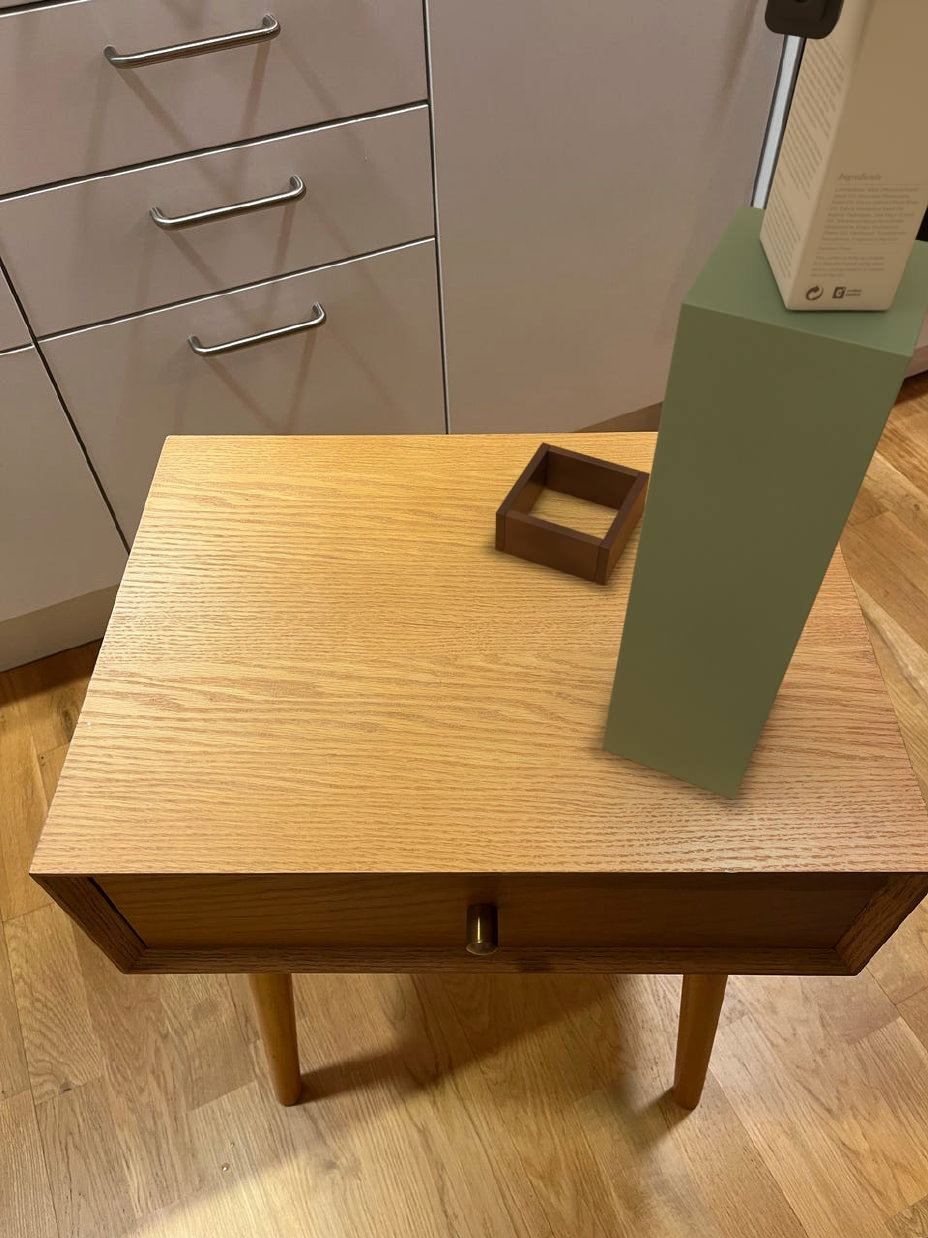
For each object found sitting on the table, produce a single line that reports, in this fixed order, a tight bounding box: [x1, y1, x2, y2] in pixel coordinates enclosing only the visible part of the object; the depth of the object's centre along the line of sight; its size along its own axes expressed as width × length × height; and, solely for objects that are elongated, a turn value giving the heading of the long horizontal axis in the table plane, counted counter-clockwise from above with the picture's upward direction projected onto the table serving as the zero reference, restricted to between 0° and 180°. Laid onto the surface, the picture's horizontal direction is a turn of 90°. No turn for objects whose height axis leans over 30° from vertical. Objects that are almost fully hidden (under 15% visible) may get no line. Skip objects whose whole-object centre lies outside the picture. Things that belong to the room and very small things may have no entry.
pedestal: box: [601, 204, 928, 800], centre depth 52 cm, size 9×9×33 cm
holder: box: [494, 441, 651, 586], centre depth 76 cm, size 9×9×4 cm
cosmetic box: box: [760, 0, 928, 310], centre depth 35 cm, size 6×4×12 cm
